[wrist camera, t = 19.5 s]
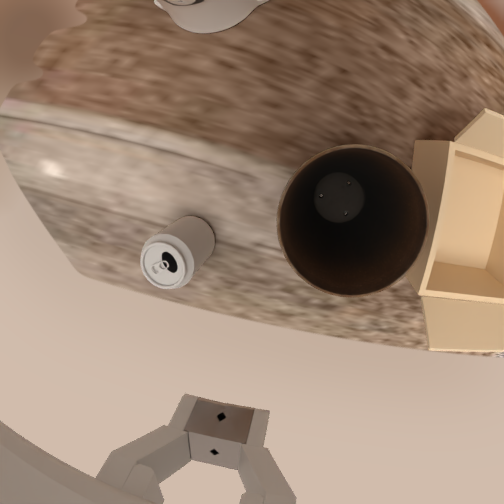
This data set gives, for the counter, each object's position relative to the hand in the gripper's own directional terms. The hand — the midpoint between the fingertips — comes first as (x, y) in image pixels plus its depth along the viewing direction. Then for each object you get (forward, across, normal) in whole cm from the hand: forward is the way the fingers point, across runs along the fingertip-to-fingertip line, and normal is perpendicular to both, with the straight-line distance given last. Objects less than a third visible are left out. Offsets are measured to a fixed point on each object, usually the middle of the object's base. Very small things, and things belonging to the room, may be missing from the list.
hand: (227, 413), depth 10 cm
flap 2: (+22, -26, +7) cm, 35 cm away
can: (+37, +14, +7) cm, 40 cm away
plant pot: (+37, -7, -2) cm, 38 cm away
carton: (+37, -26, -3) cm, 45 cm away
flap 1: (+22, -26, -14) cm, 36 cm away
